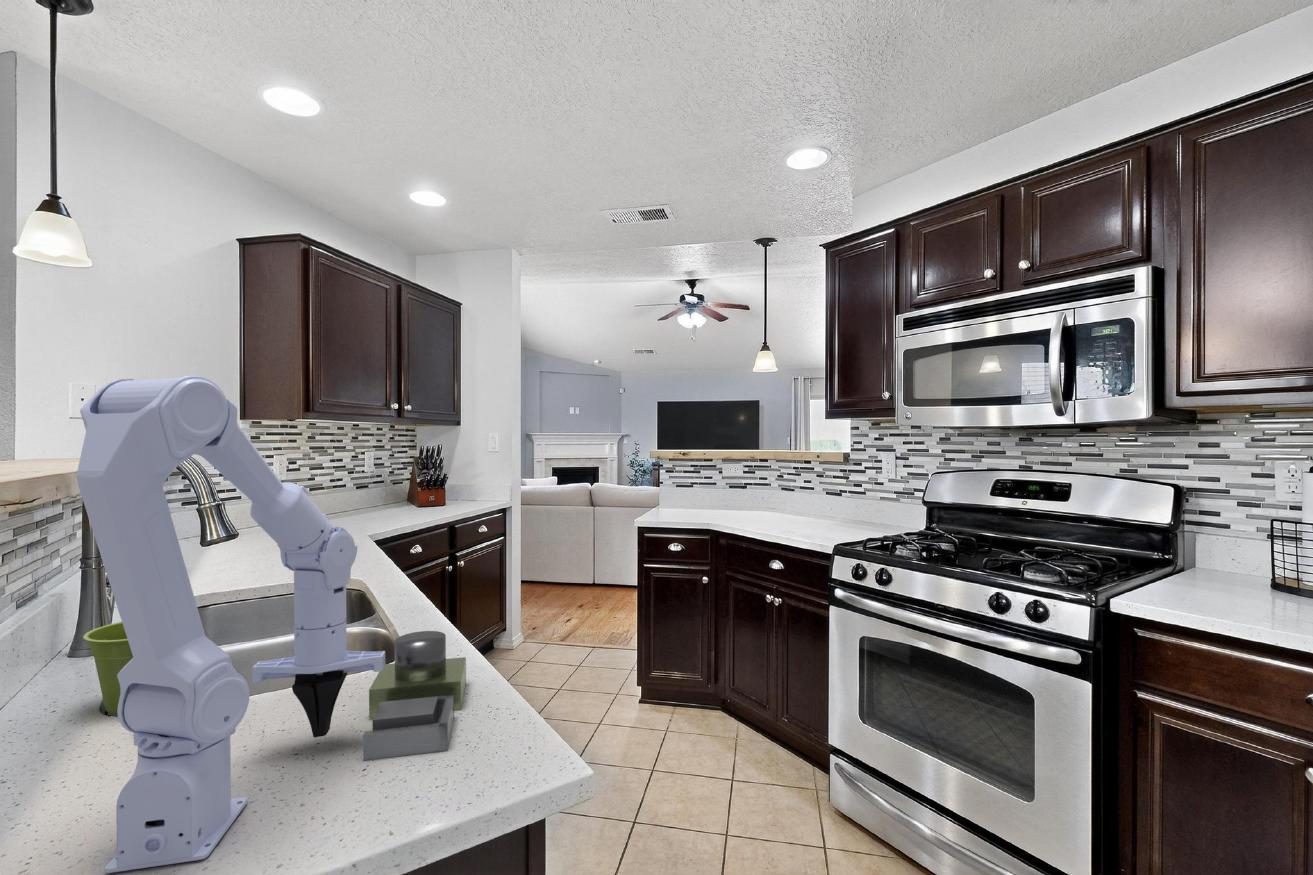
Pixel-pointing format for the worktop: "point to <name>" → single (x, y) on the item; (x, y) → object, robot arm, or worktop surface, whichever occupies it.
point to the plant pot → (109, 660)
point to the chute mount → (416, 695)
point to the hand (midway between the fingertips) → (321, 733)
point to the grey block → (406, 713)
